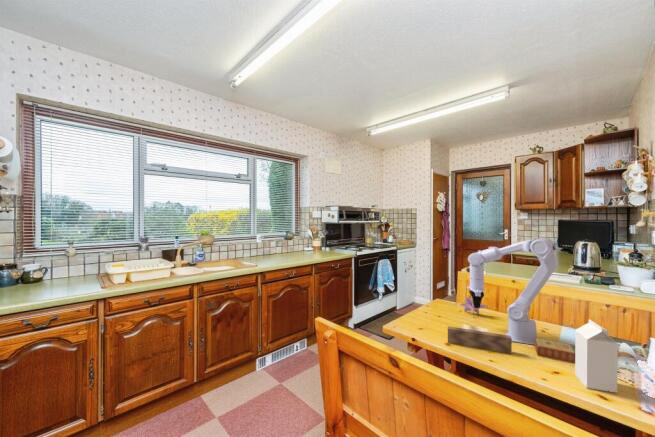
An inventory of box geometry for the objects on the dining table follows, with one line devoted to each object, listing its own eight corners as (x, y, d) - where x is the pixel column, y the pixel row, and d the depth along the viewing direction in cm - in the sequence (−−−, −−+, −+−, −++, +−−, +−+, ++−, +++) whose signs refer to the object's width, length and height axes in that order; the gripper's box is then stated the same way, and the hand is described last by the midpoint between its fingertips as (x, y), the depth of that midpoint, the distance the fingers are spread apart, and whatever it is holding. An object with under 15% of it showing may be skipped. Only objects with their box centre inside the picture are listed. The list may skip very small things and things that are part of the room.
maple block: (488, 340, 113) (488, 328, 113) (488, 348, 107) (488, 335, 107) (462, 335, 118) (462, 324, 118) (460, 342, 112) (460, 330, 112)
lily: (491, 319, 137) (488, 300, 141) (481, 315, 131) (478, 295, 135) (467, 320, 145) (465, 302, 150) (457, 316, 139) (454, 297, 143)
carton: (534, 347, 107) (534, 336, 107) (589, 358, 99) (589, 347, 98) (537, 356, 100) (537, 345, 100) (596, 370, 92) (597, 357, 91)
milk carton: (586, 388, 82) (587, 326, 81) (574, 375, 88) (575, 317, 88) (617, 393, 79) (618, 329, 79) (603, 379, 86) (603, 320, 85)
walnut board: (510, 351, 104) (510, 335, 104) (511, 354, 102) (511, 338, 101) (447, 340, 113) (447, 326, 113) (447, 342, 111) (447, 328, 111)
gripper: (466, 274, 133) (466, 301, 133) (467, 281, 120) (467, 311, 120) (482, 275, 130) (482, 303, 130) (486, 282, 117) (486, 313, 117)
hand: (476, 307), depth 125 cm, fingers closed
